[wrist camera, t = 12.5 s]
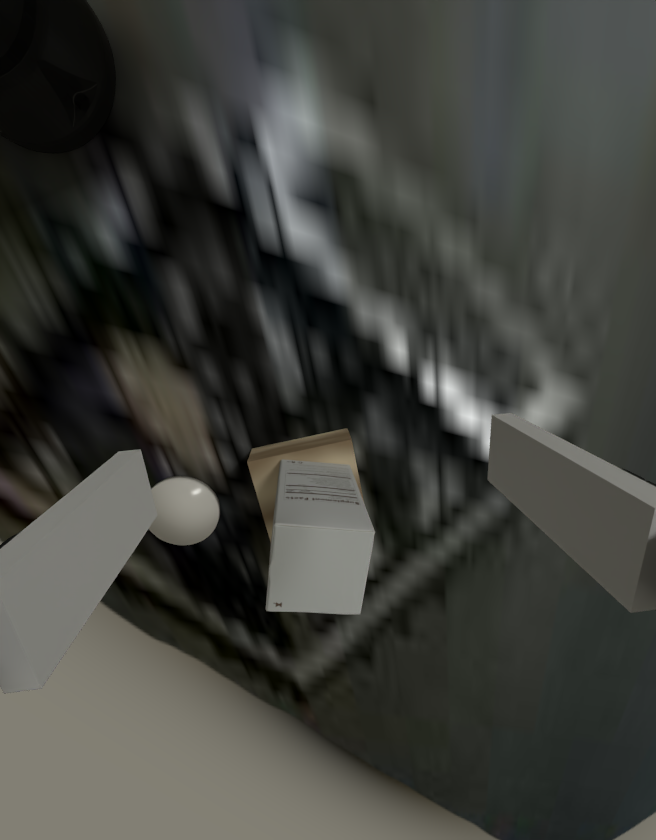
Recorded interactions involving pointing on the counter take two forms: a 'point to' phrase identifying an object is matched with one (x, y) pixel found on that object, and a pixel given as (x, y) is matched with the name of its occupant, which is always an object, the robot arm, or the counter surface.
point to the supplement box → (318, 540)
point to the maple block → (310, 448)
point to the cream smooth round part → (184, 510)
